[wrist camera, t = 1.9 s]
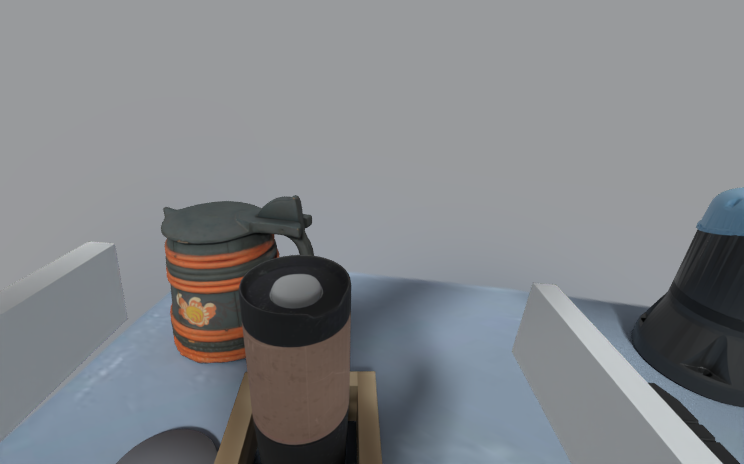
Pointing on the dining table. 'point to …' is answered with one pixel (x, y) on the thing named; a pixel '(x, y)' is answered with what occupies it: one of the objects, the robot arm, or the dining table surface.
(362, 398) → the frame
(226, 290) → the beer stein
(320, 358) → the travel mug
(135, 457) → the coaster
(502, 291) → the dining table surface
